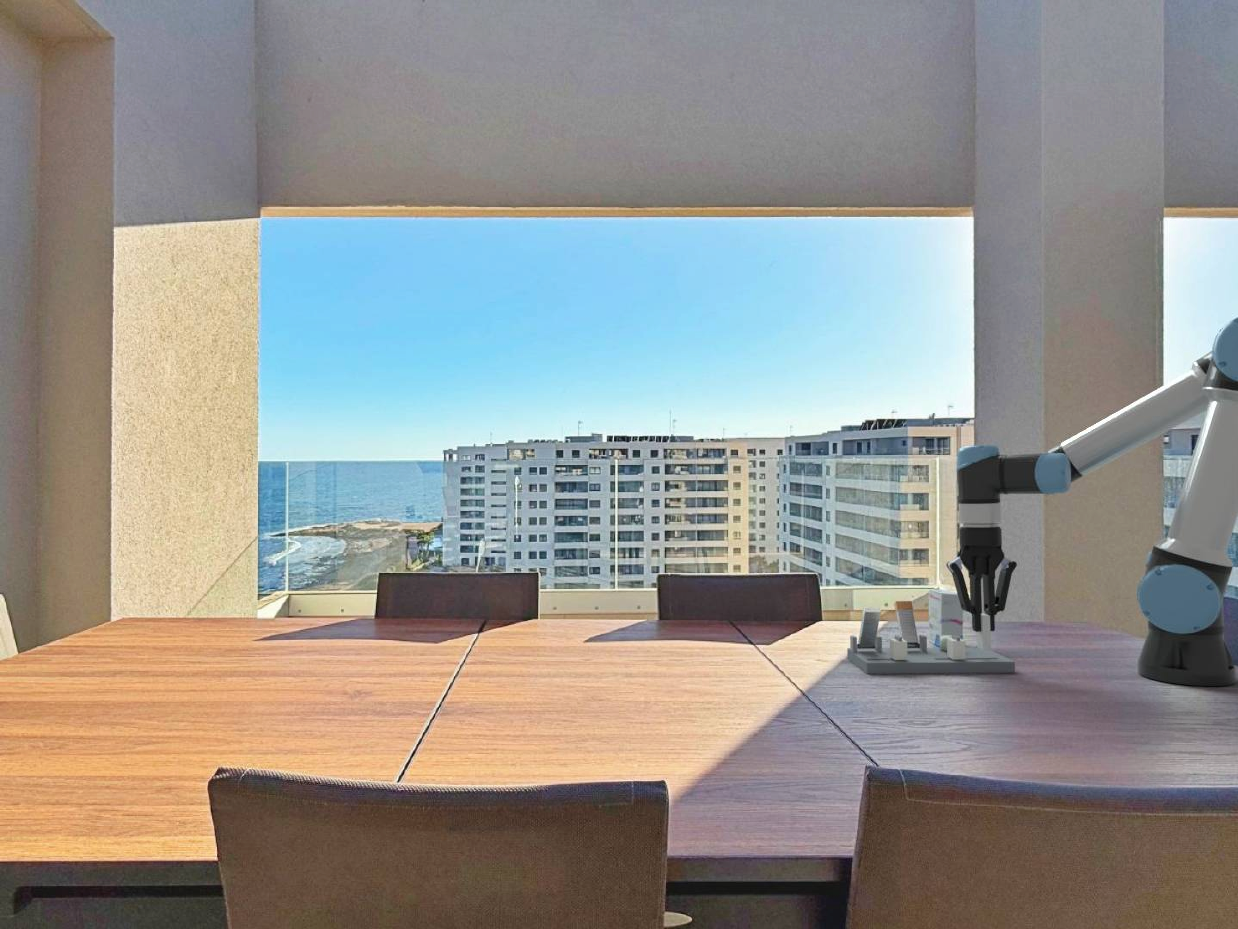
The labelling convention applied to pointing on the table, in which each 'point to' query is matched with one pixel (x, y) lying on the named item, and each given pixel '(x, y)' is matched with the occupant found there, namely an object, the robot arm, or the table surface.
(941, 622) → the ink box
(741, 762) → the table surface
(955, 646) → the slider
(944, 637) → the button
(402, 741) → the table surface
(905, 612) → the toggle
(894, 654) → the slider
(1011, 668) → the panel
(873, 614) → the toggle
